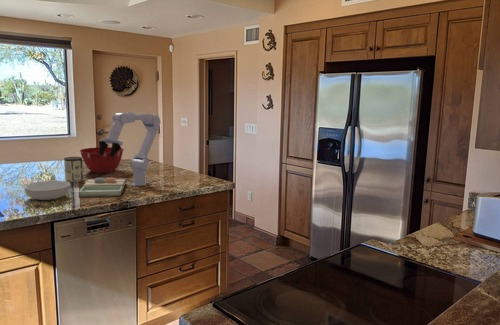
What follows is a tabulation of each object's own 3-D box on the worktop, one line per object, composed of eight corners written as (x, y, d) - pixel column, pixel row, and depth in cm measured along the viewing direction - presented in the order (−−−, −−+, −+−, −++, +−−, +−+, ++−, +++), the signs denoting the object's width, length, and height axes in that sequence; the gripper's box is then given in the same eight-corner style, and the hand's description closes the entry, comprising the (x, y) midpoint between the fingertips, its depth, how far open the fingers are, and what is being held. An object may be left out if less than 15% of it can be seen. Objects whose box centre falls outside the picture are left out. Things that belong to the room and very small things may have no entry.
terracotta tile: (106, 180, 228) (106, 177, 228) (115, 180, 229) (115, 177, 229) (105, 182, 223) (105, 179, 223) (114, 182, 225) (114, 179, 224)
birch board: (88, 183, 232) (88, 179, 231) (125, 183, 236) (125, 178, 236) (83, 190, 216) (83, 185, 216) (122, 189, 221) (122, 184, 220)
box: (83, 190, 216) (83, 186, 216) (122, 189, 221) (122, 185, 220) (78, 196, 204) (78, 191, 203) (120, 195, 208) (120, 191, 208)
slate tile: (96, 181, 227) (95, 177, 227) (105, 180, 228) (104, 177, 228) (94, 183, 222) (94, 179, 222) (103, 182, 223) (103, 179, 223)
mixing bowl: (71, 173, 257) (70, 151, 255) (95, 166, 285) (95, 145, 282) (110, 177, 252) (109, 153, 250) (131, 169, 280) (130, 148, 277)
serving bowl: (17, 198, 197) (16, 185, 196) (56, 190, 214) (56, 178, 213) (38, 206, 185) (38, 192, 184) (78, 197, 203) (78, 184, 201)
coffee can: (73, 177, 246) (72, 156, 244) (86, 179, 243) (85, 157, 241) (61, 181, 236) (60, 158, 234) (75, 182, 234) (74, 159, 231)
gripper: (99, 128, 212) (90, 151, 209) (120, 131, 207) (111, 154, 203) (108, 134, 219) (99, 156, 215) (128, 136, 213) (119, 159, 209)
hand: (105, 155), depth 209 cm, fingers open, 7 cm apart
